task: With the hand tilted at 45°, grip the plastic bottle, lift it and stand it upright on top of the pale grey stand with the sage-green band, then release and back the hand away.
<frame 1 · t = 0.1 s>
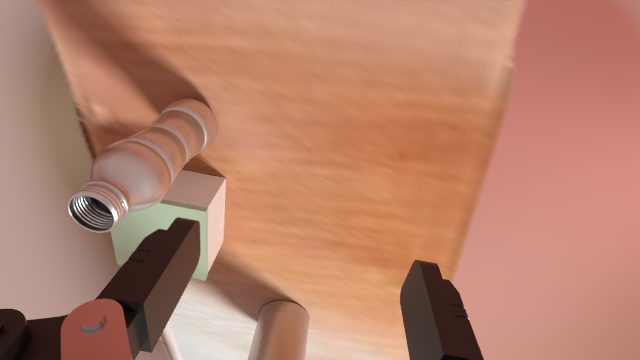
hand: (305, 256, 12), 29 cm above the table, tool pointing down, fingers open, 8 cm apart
plastic bottle: (197, 118, 41), on the table
raised stand: (184, 204, 48), on the table
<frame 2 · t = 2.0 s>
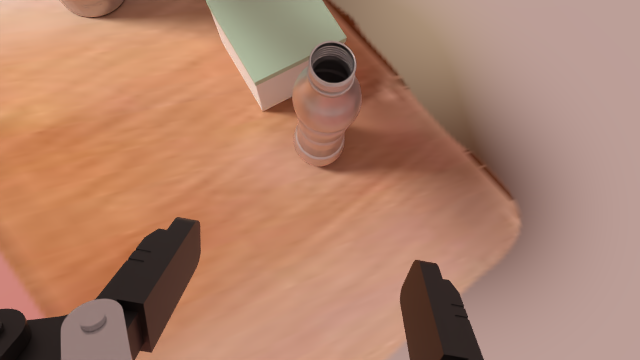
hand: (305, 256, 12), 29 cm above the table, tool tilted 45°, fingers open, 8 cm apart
plastic bottle: (317, 147, 44), on the table
raised stand: (280, 57, 46), on the table
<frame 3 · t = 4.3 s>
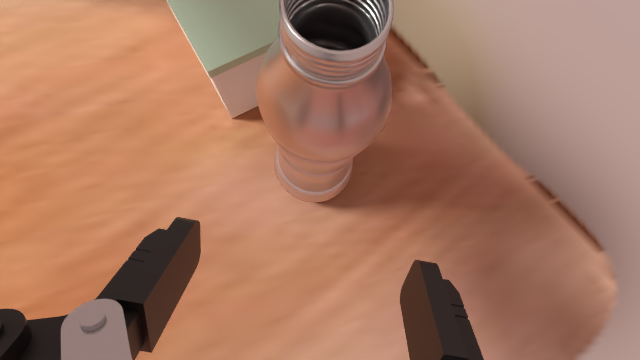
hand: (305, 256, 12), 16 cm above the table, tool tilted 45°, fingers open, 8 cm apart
plastic bottle: (312, 171, 30), on the table
raised stand: (259, 42, 32), on the table
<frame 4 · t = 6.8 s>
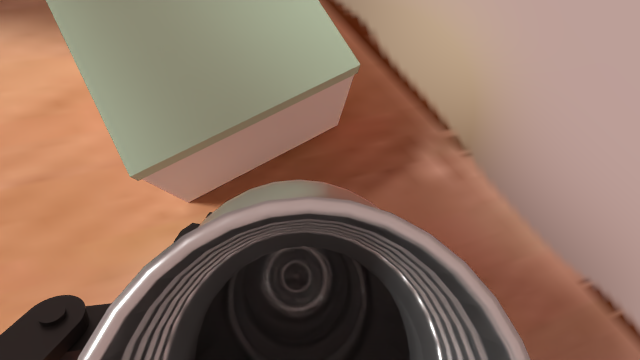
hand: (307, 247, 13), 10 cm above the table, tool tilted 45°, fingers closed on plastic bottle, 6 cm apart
plastic bottle: (296, 276, 22), on the table, touching gripper
raised stand: (228, 94, 24), on the table
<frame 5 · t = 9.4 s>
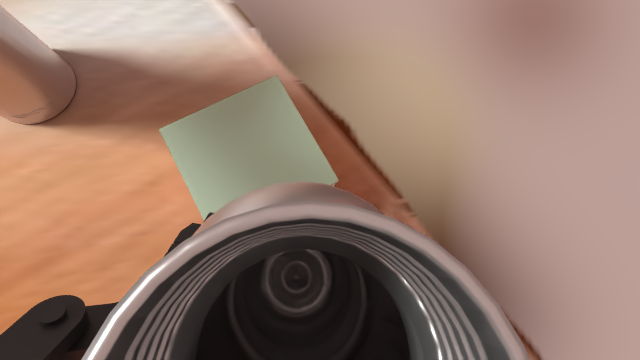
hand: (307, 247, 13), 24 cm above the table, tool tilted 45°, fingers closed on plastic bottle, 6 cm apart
plastic bottle: (296, 277, 22), point 14 cm above the table, touching gripper
raised stand: (258, 176, 38), on the table
when the fingers open (19 cm above the table, at t = 12.0 s): plastic bottle drops 1 cm, resting on raised stand.
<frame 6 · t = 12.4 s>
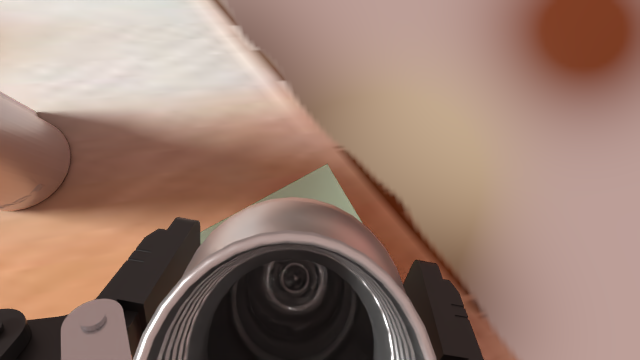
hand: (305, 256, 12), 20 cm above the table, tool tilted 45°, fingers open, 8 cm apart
plastic bottle: (295, 278, 23), point 8 cm above the table, touching raised stand
raised stand: (296, 270, 31), on the table
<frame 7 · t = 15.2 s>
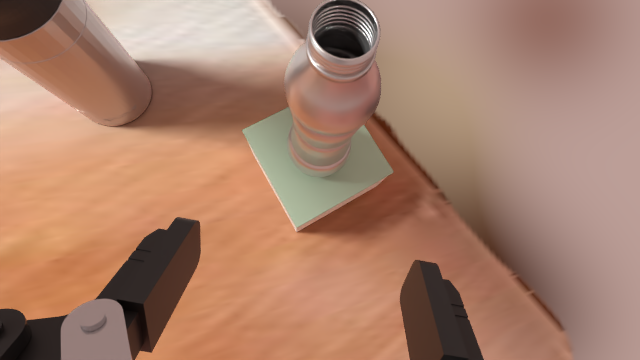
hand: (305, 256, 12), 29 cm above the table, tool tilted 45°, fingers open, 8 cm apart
plastic bottle: (317, 153, 35), point 8 cm above the table, touching raised stand
raised stand: (314, 170, 43), on the table
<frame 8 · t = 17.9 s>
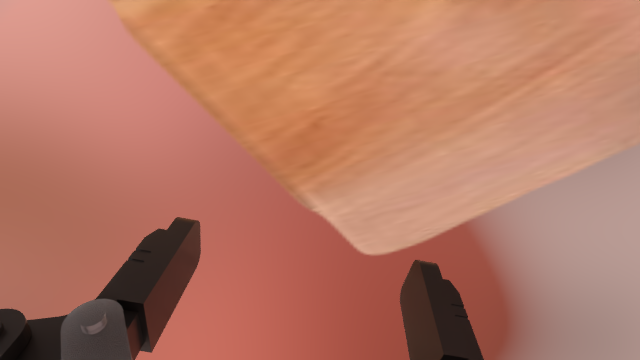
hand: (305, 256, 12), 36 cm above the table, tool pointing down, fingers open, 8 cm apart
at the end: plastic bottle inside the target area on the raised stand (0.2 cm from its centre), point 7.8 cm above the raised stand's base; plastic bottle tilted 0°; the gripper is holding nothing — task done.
